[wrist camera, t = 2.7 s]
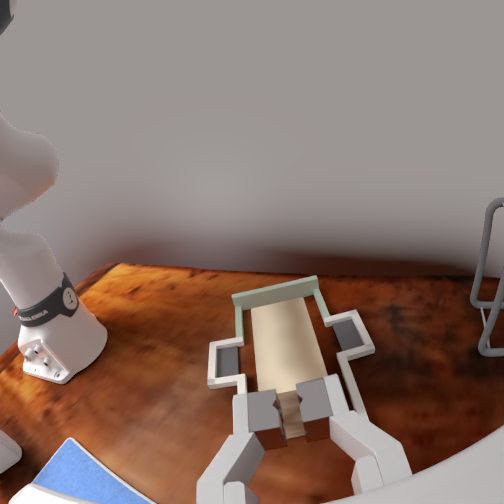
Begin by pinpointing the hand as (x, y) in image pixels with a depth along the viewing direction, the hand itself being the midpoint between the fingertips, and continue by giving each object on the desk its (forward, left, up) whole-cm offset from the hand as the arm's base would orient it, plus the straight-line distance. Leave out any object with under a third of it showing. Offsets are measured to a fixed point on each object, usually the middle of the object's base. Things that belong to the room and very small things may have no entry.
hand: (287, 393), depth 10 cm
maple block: (0, +14, -22) cm, 26 cm away
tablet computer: (-27, -1, -23) cm, 35 cm away
